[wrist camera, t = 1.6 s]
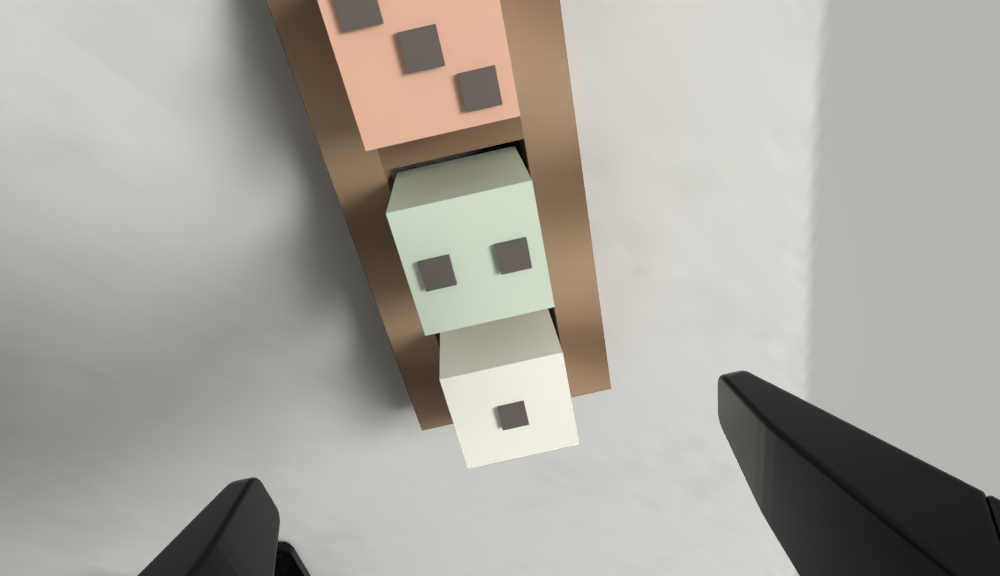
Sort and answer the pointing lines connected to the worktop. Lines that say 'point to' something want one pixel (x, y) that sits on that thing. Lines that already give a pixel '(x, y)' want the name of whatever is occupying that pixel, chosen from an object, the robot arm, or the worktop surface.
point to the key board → (371, 174)
